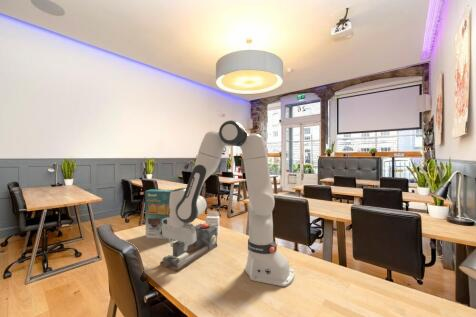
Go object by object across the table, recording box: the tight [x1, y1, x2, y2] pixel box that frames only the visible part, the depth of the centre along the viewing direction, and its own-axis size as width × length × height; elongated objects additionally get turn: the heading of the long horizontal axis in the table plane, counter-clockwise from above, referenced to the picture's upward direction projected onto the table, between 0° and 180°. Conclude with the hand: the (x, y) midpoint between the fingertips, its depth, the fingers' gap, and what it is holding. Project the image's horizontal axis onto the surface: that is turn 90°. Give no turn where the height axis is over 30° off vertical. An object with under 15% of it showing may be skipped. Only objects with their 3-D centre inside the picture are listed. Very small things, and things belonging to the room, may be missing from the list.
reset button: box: [200, 222, 208, 228], centre depth 126 cm, size 4×4×2 cm
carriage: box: [168, 240, 188, 262], centre depth 108 cm, size 7×6×8 cm
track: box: [159, 223, 218, 273], centre depth 116 cm, size 12×31×12 cm, turn 150°
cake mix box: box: [144, 188, 174, 240], centre depth 140 cm, size 22×6×30 cm, turn 82°
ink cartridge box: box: [205, 210, 220, 236], centre depth 146 cm, size 9×5×15 cm, turn 84°
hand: (178, 248), depth 108 cm, fingers open, 7 cm apart
